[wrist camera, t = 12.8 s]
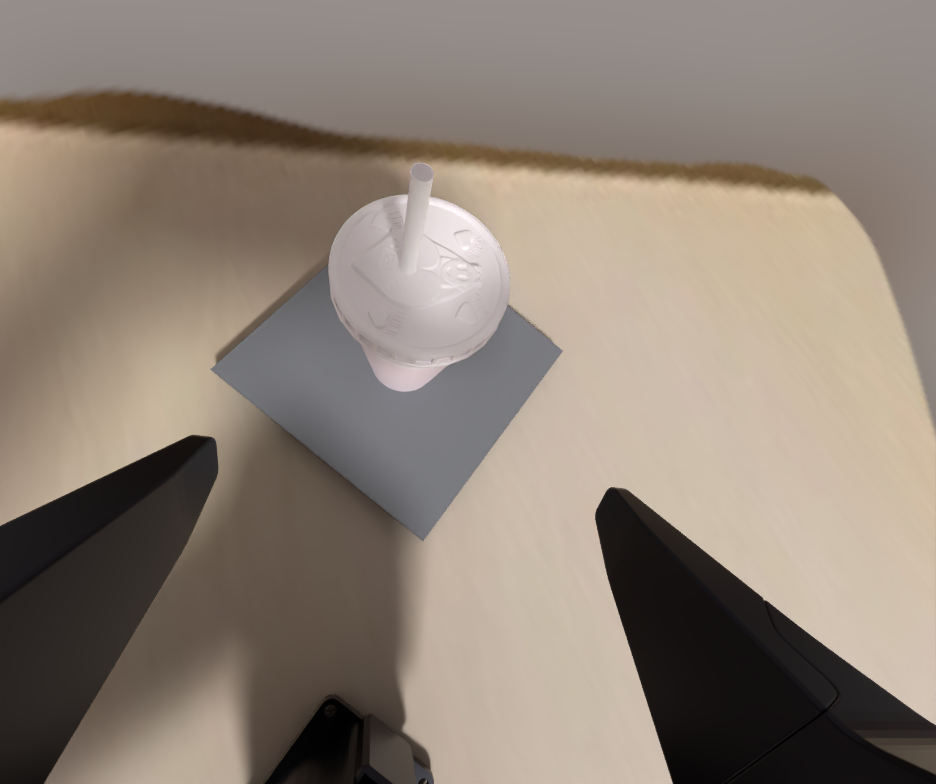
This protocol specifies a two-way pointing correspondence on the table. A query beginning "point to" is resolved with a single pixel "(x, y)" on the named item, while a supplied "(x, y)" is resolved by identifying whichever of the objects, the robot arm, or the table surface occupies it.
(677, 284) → the table surface
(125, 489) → the robot arm
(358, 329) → the smoothie
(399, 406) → the placemat
